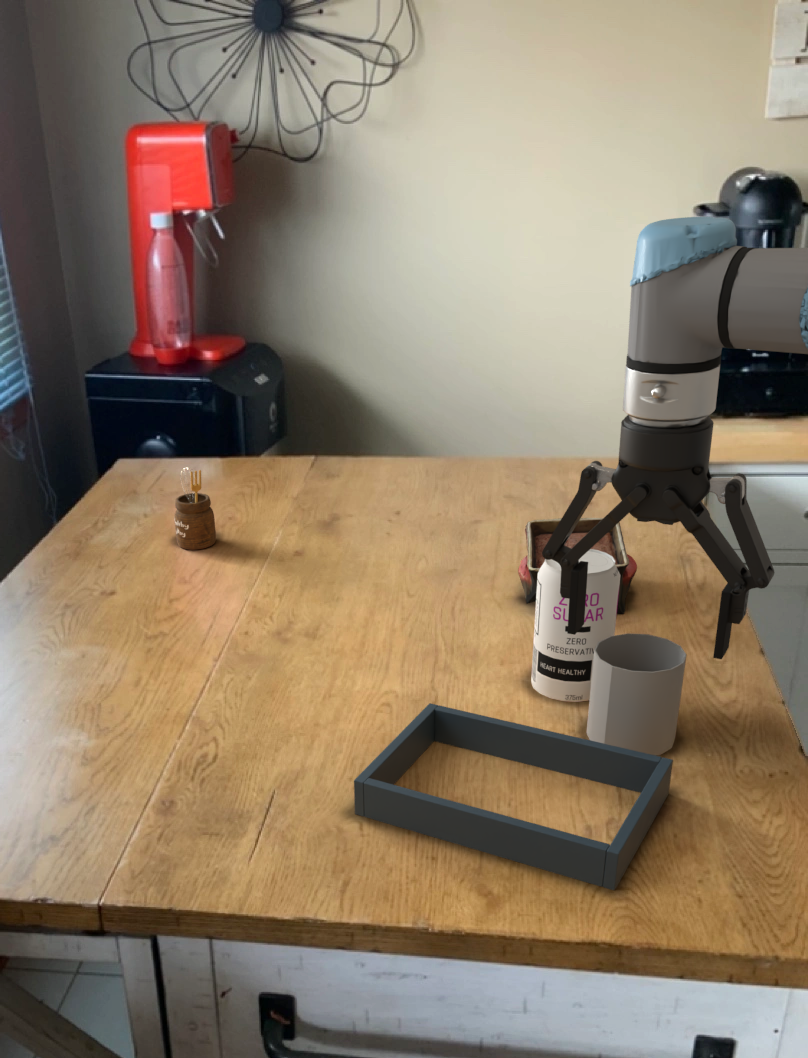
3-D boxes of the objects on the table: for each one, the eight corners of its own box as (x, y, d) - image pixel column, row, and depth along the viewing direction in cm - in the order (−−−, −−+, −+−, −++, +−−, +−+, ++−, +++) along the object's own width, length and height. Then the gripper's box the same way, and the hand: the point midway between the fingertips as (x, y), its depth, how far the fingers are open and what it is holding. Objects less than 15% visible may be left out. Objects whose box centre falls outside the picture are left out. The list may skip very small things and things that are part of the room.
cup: (647, 716, 117) (658, 628, 112) (690, 755, 110) (703, 664, 105) (572, 728, 116) (579, 640, 111) (609, 769, 108) (619, 677, 104)
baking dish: (508, 629, 141) (518, 560, 135) (521, 556, 154) (530, 490, 148) (627, 643, 138) (642, 574, 132) (630, 568, 151) (644, 501, 145)
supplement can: (582, 666, 127) (592, 540, 120) (623, 698, 120) (637, 567, 113) (517, 680, 125) (524, 553, 118) (555, 714, 118) (565, 581, 111)
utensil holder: (209, 533, 172) (202, 456, 166) (222, 546, 167) (215, 467, 161) (172, 540, 170) (163, 462, 164) (184, 554, 165) (176, 474, 159)
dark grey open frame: (667, 800, 104) (673, 759, 101) (613, 897, 92) (618, 854, 90) (429, 740, 115) (429, 702, 113) (354, 820, 104) (353, 780, 102)
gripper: (512, 416, 100) (506, 634, 110) (817, 438, 88) (778, 681, 98) (542, 396, 105) (533, 605, 116) (834, 414, 93) (795, 647, 103)
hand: (646, 640), depth 107 cm, fingers open, 13 cm apart
